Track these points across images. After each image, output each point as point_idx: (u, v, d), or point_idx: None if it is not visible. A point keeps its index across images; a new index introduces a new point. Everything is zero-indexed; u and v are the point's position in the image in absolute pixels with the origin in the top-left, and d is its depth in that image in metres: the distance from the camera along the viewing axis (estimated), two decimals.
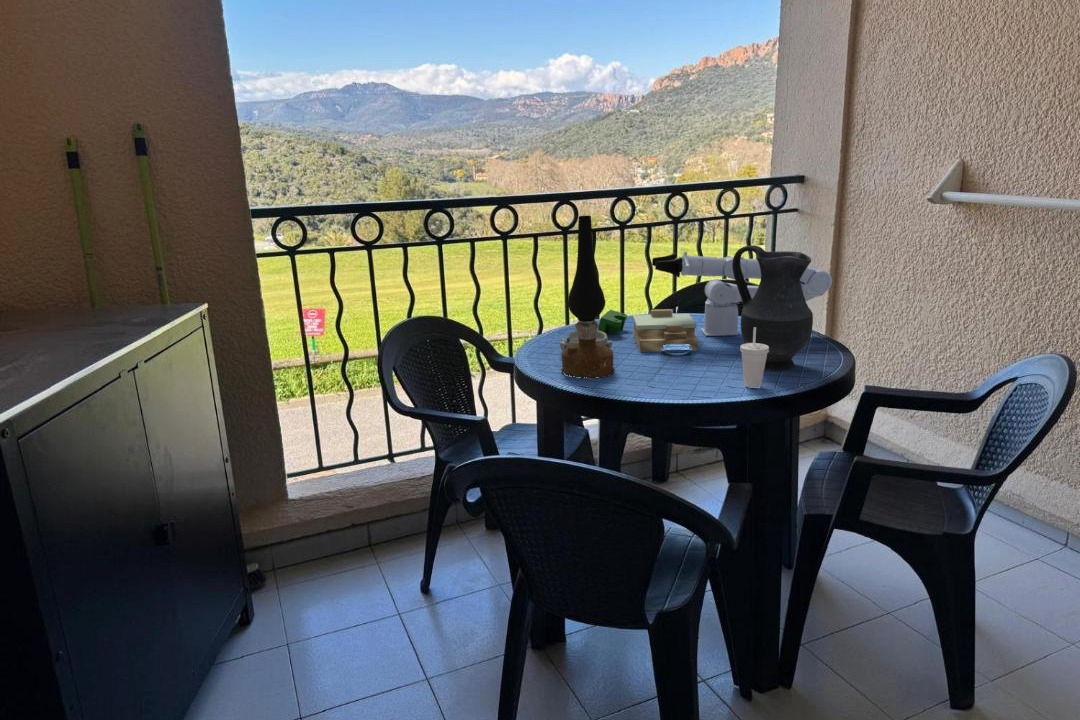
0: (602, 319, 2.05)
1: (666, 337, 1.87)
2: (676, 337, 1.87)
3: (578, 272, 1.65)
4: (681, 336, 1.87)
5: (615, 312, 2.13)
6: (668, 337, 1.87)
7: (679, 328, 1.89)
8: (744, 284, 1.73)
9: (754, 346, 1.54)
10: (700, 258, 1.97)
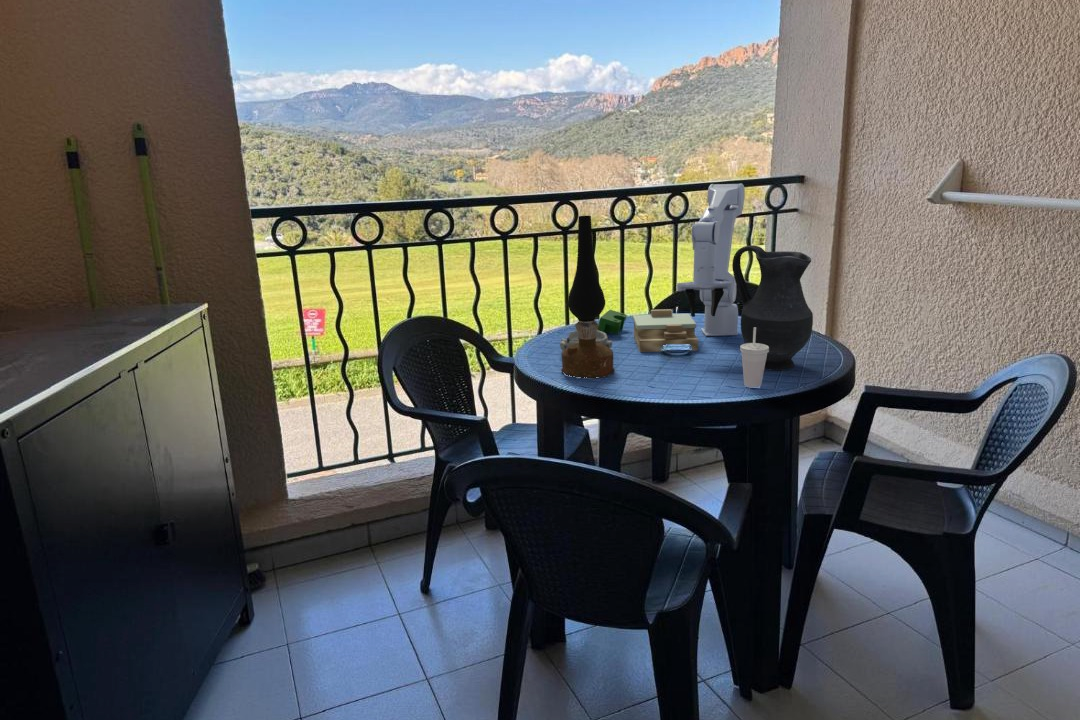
0: (601, 319, 2.05)
1: (666, 337, 1.87)
2: (676, 337, 1.87)
3: (578, 272, 1.65)
4: (681, 336, 1.87)
5: (615, 312, 2.13)
6: (668, 337, 1.87)
7: (679, 328, 1.89)
8: (744, 284, 1.73)
9: (754, 346, 1.54)
10: (711, 269, 1.80)
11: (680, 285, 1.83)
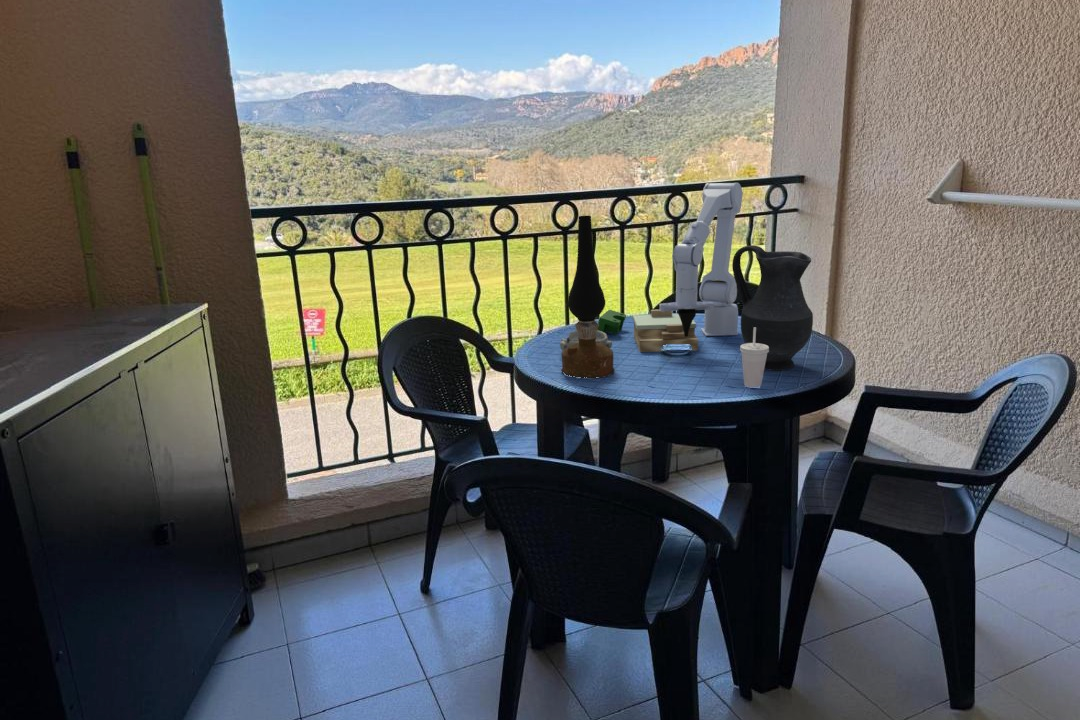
0: (601, 319, 2.05)
1: (664, 337, 1.87)
2: (674, 337, 1.87)
3: (578, 272, 1.65)
4: (679, 336, 1.87)
5: (614, 312, 2.13)
6: (666, 337, 1.87)
7: (679, 328, 1.89)
8: (744, 284, 1.73)
9: (754, 346, 1.54)
10: (693, 290, 1.82)
11: (663, 306, 1.85)
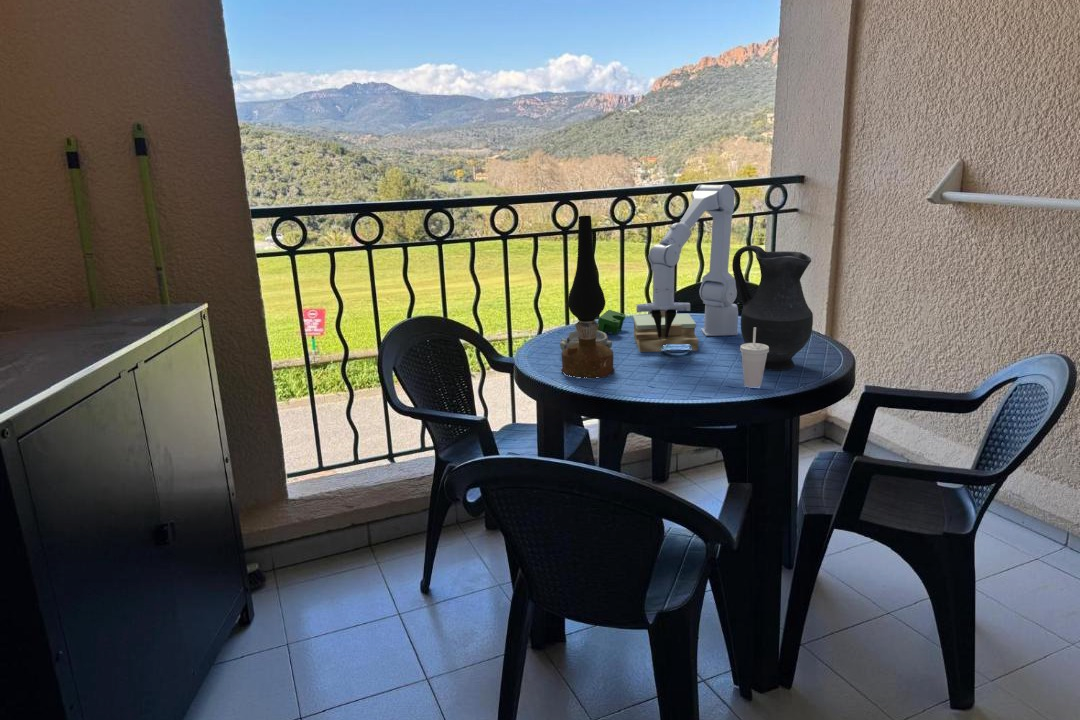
0: (600, 319, 2.05)
1: (637, 338, 1.88)
2: (647, 338, 1.88)
3: (578, 272, 1.65)
4: (652, 337, 1.88)
5: (614, 312, 2.13)
6: (639, 338, 1.88)
7: (679, 328, 1.89)
8: (744, 284, 1.73)
9: (754, 346, 1.54)
10: (669, 291, 1.82)
11: (639, 306, 1.85)
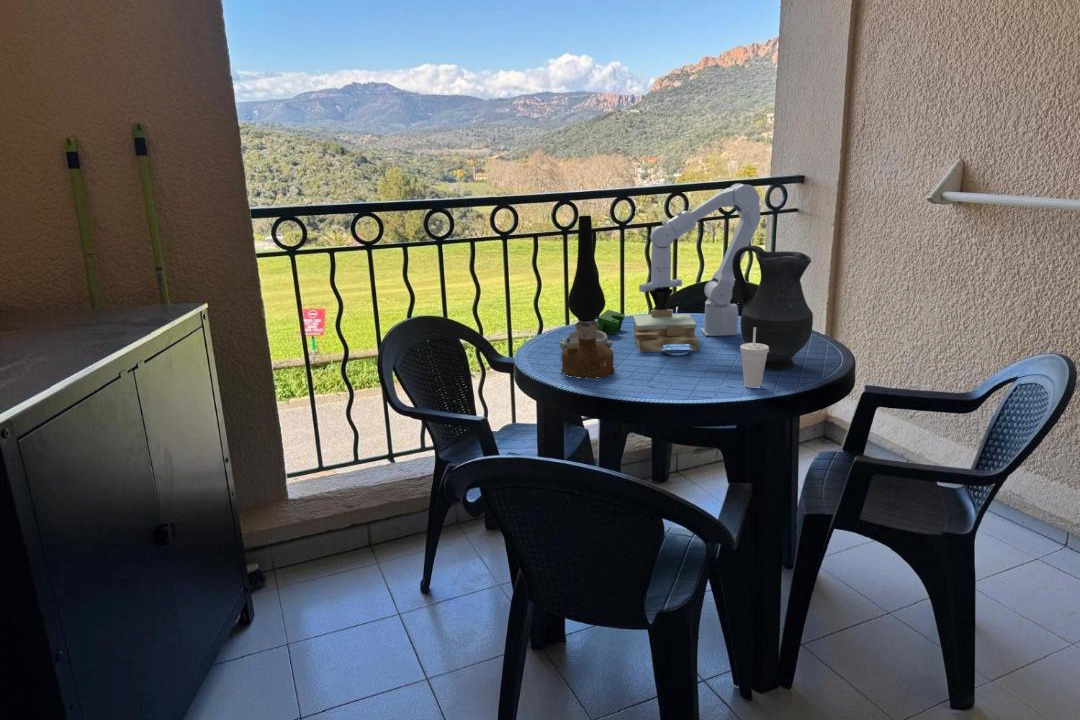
0: (600, 319, 2.05)
1: (637, 338, 1.88)
2: (647, 338, 1.88)
3: (578, 272, 1.65)
4: (652, 337, 1.88)
5: (613, 312, 2.13)
6: (639, 338, 1.88)
7: (679, 328, 1.89)
8: (744, 284, 1.73)
9: (754, 346, 1.54)
10: (670, 269, 1.98)
11: (645, 286, 1.96)
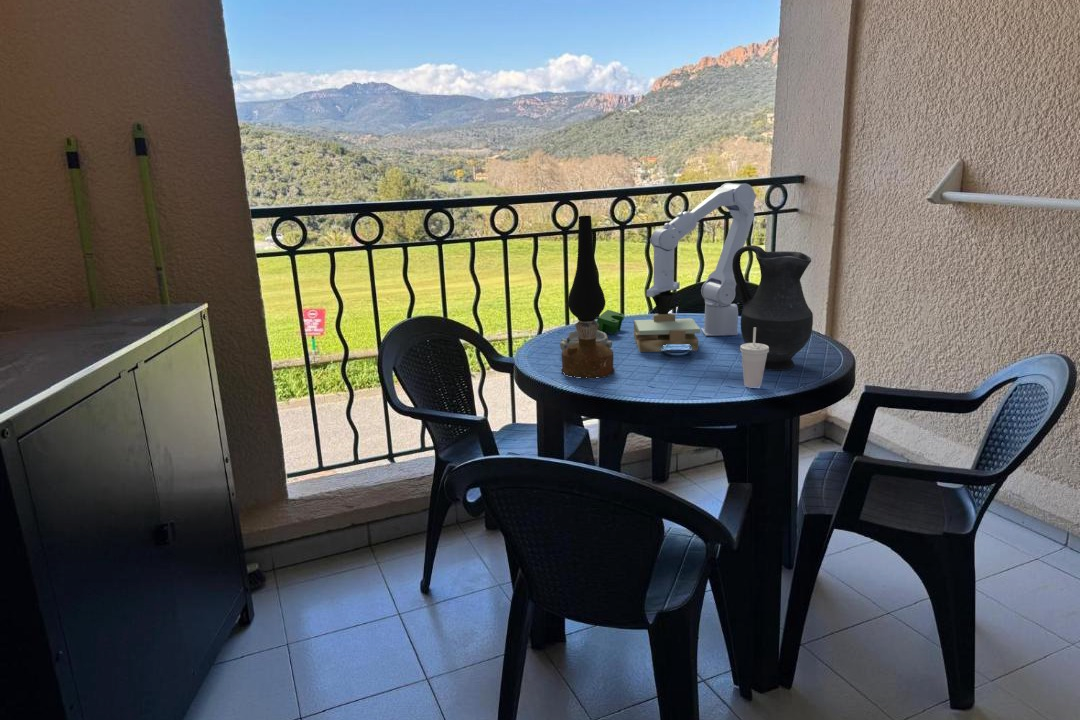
0: (599, 319, 2.05)
1: (637, 338, 1.88)
2: (647, 338, 1.88)
3: (578, 272, 1.65)
4: (652, 337, 1.88)
5: (613, 312, 2.13)
6: (639, 338, 1.88)
7: (682, 333, 1.84)
8: (744, 284, 1.73)
9: (754, 346, 1.54)
10: (673, 272, 1.93)
11: (654, 291, 1.90)
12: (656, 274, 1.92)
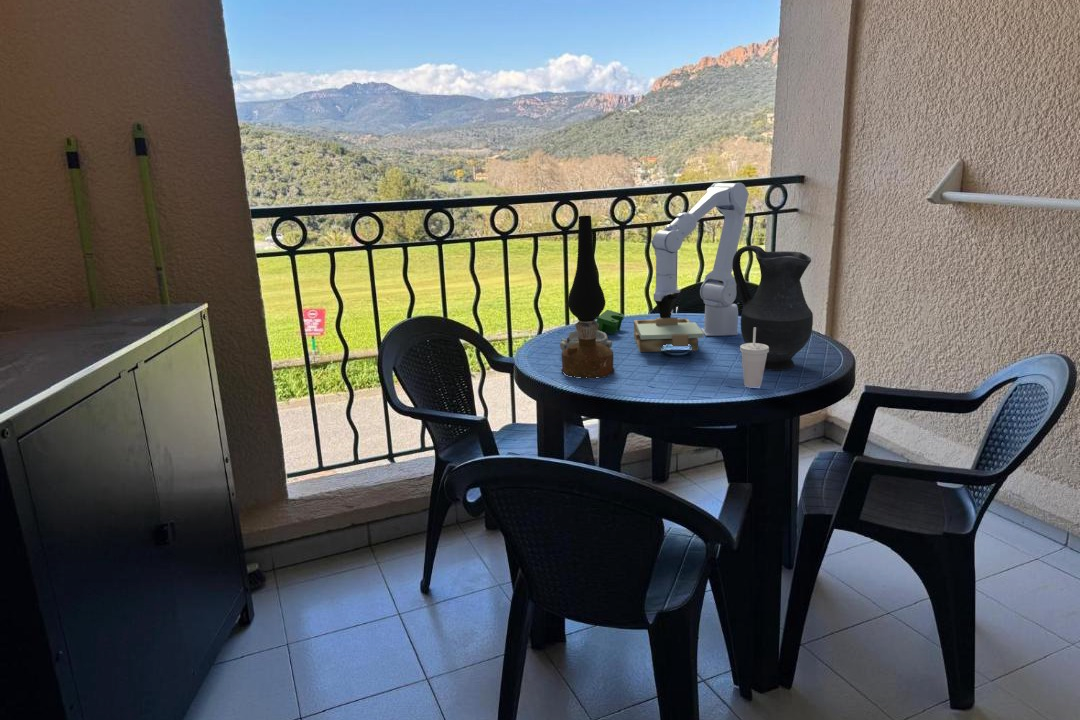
0: (599, 319, 2.05)
1: (637, 338, 1.88)
2: None
3: (578, 272, 1.65)
4: None
5: (612, 312, 2.13)
6: (639, 338, 1.88)
7: (685, 338, 1.79)
8: (744, 284, 1.73)
9: (754, 346, 1.54)
10: None
11: (661, 295, 1.84)
12: (660, 277, 1.87)
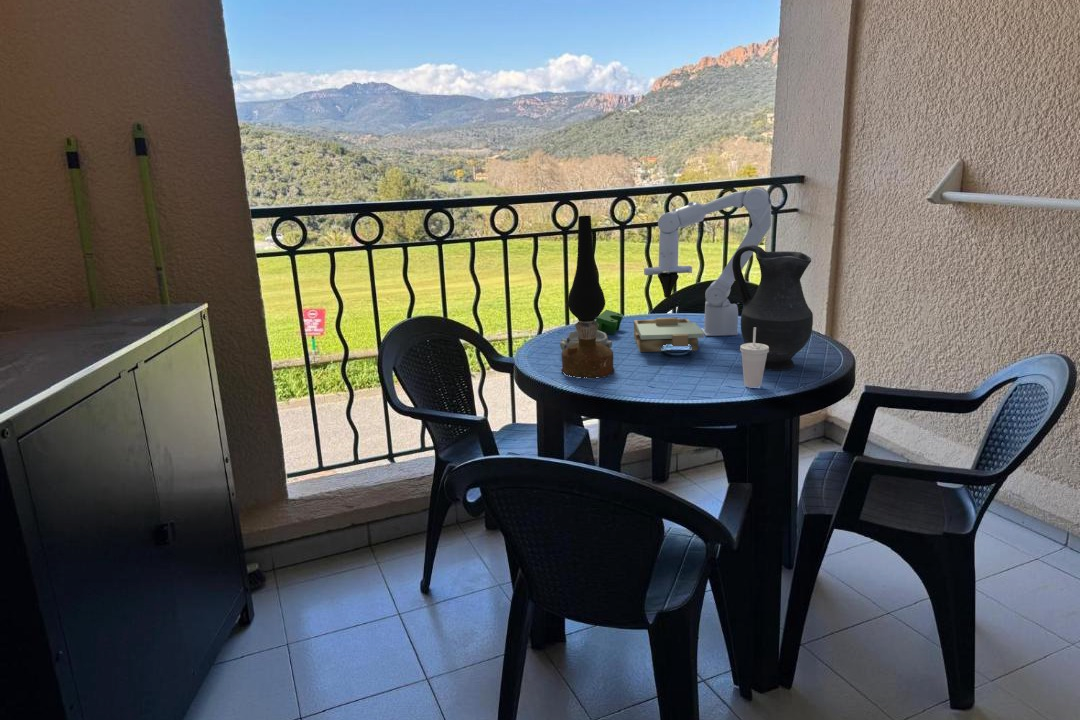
0: (598, 319, 2.05)
1: (637, 338, 1.88)
2: None
3: (578, 272, 1.65)
4: None
5: (611, 312, 2.13)
6: (639, 338, 1.88)
7: (685, 338, 1.79)
8: (744, 284, 1.73)
9: (754, 346, 1.54)
10: (675, 255, 2.01)
11: (648, 270, 2.02)
12: None
